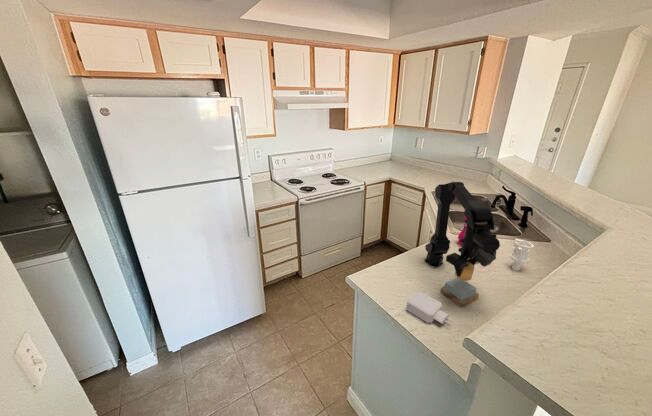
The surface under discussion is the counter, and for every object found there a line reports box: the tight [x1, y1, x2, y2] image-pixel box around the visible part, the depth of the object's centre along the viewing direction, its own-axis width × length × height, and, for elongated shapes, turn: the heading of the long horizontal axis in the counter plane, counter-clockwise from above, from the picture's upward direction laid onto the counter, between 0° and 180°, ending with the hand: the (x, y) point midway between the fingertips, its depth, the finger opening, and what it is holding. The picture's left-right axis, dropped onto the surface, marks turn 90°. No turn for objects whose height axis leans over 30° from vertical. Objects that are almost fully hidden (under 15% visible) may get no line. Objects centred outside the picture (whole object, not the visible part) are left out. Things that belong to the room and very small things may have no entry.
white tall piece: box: [509, 238, 534, 272], centre depth 124 cm, size 7×7×15 cm
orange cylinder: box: [454, 262, 475, 282], centre depth 104 cm, size 6×6×5 cm
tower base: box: [439, 285, 479, 309], centre depth 108 cm, size 10×10×3 cm
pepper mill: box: [457, 215, 467, 248], centre depth 143 cm, size 7×7×20 cm
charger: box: [405, 290, 454, 325], centre depth 98 cm, size 5×9×15 cm
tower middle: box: [444, 277, 477, 301], centre depth 107 cm, size 8×8×3 cm
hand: (463, 273), depth 104 cm, fingers closed on orange cylinder, 6 cm apart
